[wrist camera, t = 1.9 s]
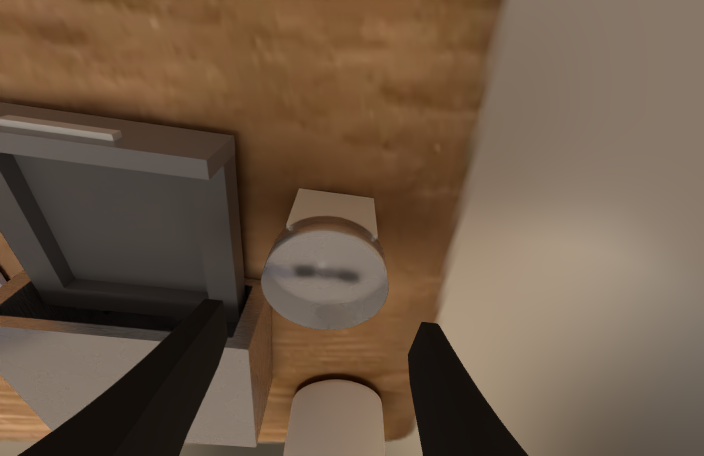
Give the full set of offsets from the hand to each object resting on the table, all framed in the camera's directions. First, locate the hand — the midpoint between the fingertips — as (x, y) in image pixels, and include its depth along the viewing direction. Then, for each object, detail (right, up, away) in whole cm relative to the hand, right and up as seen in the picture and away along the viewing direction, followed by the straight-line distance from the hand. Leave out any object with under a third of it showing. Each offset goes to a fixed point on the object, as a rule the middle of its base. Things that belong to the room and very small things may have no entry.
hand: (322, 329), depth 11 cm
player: (-12, -4, +11) cm, 17 cm away
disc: (0, +2, +3) cm, 4 cm away
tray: (-10, +4, +5) cm, 12 cm away
